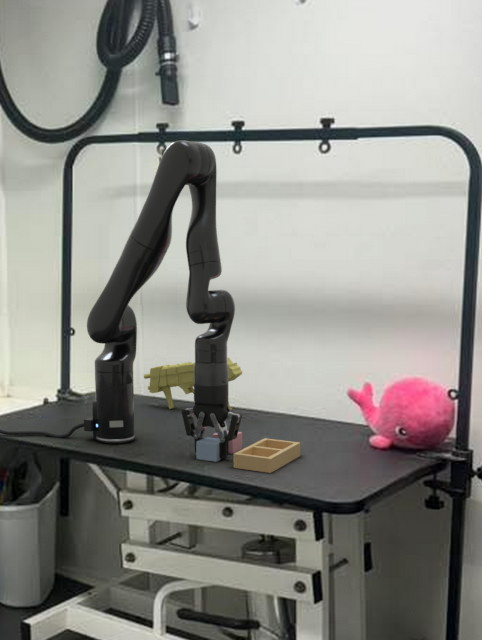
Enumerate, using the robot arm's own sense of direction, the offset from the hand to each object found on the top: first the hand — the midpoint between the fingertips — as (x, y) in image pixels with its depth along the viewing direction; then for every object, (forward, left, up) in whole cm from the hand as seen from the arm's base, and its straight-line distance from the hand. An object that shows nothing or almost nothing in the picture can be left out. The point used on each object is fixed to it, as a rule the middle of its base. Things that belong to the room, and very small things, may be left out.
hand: (211, 456), depth 209 cm
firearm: (-28, +42, -1) cm, 50 cm away
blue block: (0, 0, 0) cm, 0 cm away
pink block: (0, +8, 0) cm, 8 cm away
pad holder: (+12, +3, 0) cm, 12 cm away
